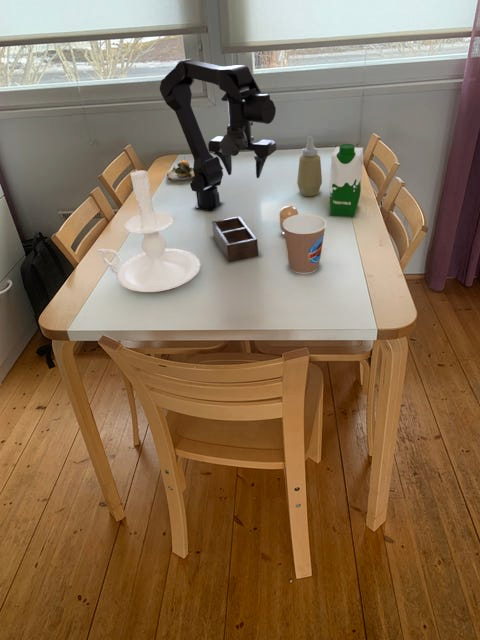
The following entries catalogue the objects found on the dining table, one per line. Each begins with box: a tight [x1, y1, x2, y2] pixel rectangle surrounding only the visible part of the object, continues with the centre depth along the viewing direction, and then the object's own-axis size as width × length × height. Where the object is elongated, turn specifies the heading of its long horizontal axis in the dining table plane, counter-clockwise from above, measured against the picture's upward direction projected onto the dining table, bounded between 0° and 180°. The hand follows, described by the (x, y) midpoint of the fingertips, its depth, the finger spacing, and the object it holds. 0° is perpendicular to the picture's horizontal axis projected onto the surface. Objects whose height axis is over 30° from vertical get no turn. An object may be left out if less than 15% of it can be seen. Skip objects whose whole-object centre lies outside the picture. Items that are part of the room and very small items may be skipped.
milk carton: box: [329, 143, 364, 218], centre depth 137 cm, size 9×9×20 cm
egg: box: [278, 205, 299, 238], centre depth 130 cm, size 5×5×9 cm
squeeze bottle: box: [296, 136, 323, 197], centre depth 150 cm, size 8×8×18 cm
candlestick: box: [97, 169, 201, 293], centre depth 110 cm, size 21×25×28 cm
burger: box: [166, 156, 195, 181], centre depth 174 cm, size 12×12×8 cm
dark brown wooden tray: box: [211, 215, 259, 263], centre depth 128 cm, size 8×16×5 cm, turn 17°
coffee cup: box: [283, 213, 328, 275], centre depth 114 cm, size 10×10×12 cm
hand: (243, 176), depth 136 cm, fingers open, 9 cm apart
